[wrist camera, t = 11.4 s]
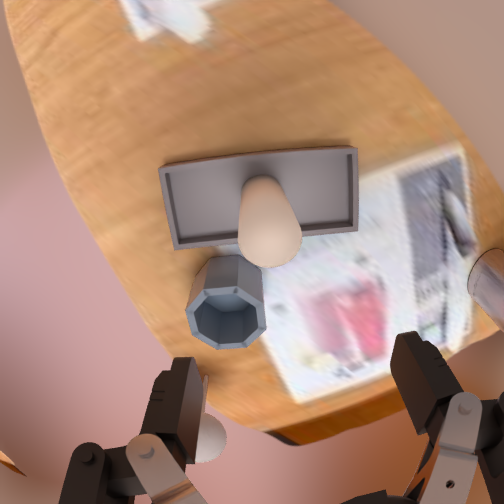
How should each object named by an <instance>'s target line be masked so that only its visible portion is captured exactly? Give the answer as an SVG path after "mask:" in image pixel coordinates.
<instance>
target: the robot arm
mask: <svg viewBox="0 0 504 504" xmlns="http://www.w3.org/2000/svg"><path fill="white" fill-rule="evenodd" d="M468 291H469V294H470V296H471V297H472V298H473V299H474V300H475V301H476V302H477V304H478V305H479V306H480V307H481V308H482V309H483V310H484V311H485V312H486V313H487V314H488V316H489V317H490V318H491V319H492V320H493V321H494V322H495V323H496V325H497V326H498V327H499V328H500V329H501V330H502V331H503V332H504V252H503V251H502V250H500V249H492V250H489V251H488V252H486V253H485V254H484V255H483V256H481V257H480V259H479V260H478V261H477V262H476V264H475V266H474V267H473V269H472V271H471V274H470V277H469V281H468ZM390 368H391V373H392V376H393V378H394V380H395V383H396V385H397V387H398V389H399V392H400V394H401V396H402V398H403V401H404V403H405V405H406V408H407V410H408V413H409V415H410V417H411V420H412V422H413V425H414V427H415V429H416V432H417V434H418V435H421V434H424V433H428V435H429V439H428V440H427V443H426V446H425V449H424V451H423V454H422V457H421V460H420V462H419V465H418V467H417V469H416V472H415V474H414V477H413V479H412V481H411V482H410V484H409V486H408V487H407V489H406V491H405V493H404V495H403V496H394V495H387V493H386V490H382V491H378V492H374V493H370V494H366V495H362V496H357V497H355V498H353V499H350V500H348V501H346V502H343V503H341V504H465V503H466V500H467V497H468V494H469V491H470V487H471V484H472V480H473V476H474V473H475V469H476V465H477V461H478V463H479V465H480V469H481V471H482V474H483V477H484V479H485V483H486V486H487V489H488V492H489V495H490V499H491V502H492V504H504V392H503V393H502V394H501V395H500V397H499V398H498V399H494V400H479V399H478V397H476V396H475V395H474V394H471V393H468V392H464V391H463V389H462V388H461V386H460V384H459V382H458V381H457V379H456V377H455V376H454V374H453V373H452V371H451V369H450V368H449V366H448V365H447V363H446V361H445V360H444V358H442V355H441V353H440V352H439V350H438V349H437V347H435V346H434V345H433V344H431V343H430V342H429V341H422V339H421V338H420V336H419V334H418V333H417V332H416V331H411V332H406V333H401V334H398V335H397V336H396V340H395V344H394V349H393V353H392V357H391V361H390ZM202 403H203V384H202V380H201V377H200V374H199V371H198V368H197V365H196V361H195V359H194V357H175V358H174V359H173V362H172V366H171V370H169V371H162V372H161V373H160V374H159V376H158V377H157V378H156V379H155V382H154V385H153V388H152V393H151V395H150V401H149V403H148V406H147V409H146V413H145V417H144V421H143V424H142V428H141V431H140V434H139V435H138V436H136V437H134V438H133V439H132V440H131V441H130V442H129V443H128V445H126V446H123V447H118V448H112V449H105V450H103V449H102V448H101V447H100V446H99V445H98V444H96V443H92V442H87V443H83V444H81V445H79V446H78V447H77V448H76V449H75V450H74V452H73V453H72V457H71V460H70V463H69V467H68V470H67V473H66V477H65V481H64V484H63V488H62V492H61V496H60V500H59V504H134V500H135V495H142V494H148V495H149V497H150V498H151V501H152V503H151V504H208V503H207V502H206V501H205V499H204V498H203V497H202V496H201V494H200V493H199V492H198V491H197V489H196V488H195V487H194V486H193V484H192V483H191V481H190V480H189V479H188V477H187V476H186V475H185V468H186V464H195V458H196V450H197V442H198V434H199V426H200V418H201V410H202ZM474 452H475V454H474Z"/></svg>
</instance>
